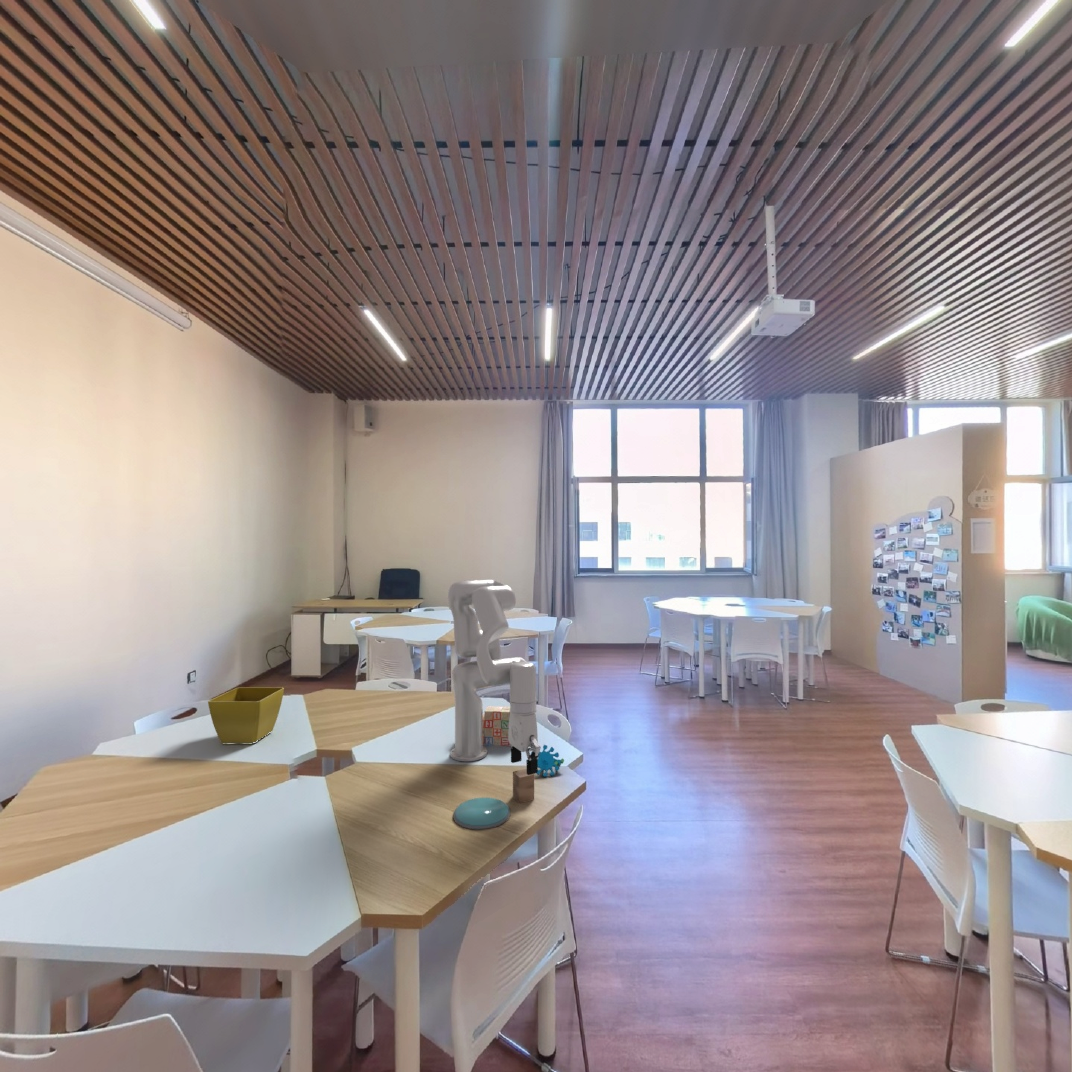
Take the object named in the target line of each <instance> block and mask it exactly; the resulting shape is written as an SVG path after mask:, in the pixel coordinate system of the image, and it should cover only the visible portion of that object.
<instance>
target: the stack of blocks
mask: <svg viewBox="0 0 1072 1072" xmlns="http://www.w3.org/2000/svg"><path fill="white" fill-rule="evenodd" d="M509 715H510V706H493V705H492V706H489V705H488V706H486V707H485V709H484V713H483V746H503V747H504V746H507V747H510V743H509V741H508V729H509Z"/></svg>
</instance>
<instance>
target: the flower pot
mask: <svg viewBox="0 0 1072 1072" xmlns="http://www.w3.org/2000/svg"><path fill="white" fill-rule="evenodd" d="M284 690H285V688H284V687H278V686H277V687H270V686H269V687H266V686H264V687H263V686H262V687H261V686H257V687H256V686H253V687H252V686H249V687H247V686H246V687H245V686H244V687H243V686H241V687H239V686H238V687H236V688H234V689H231V690H229V691H227V692H224V693H222V694H220V695H218V696H216V697H214V698H212V699H210V700H207V703H208V709H209V714H210V717H211V718H210V719H211V721H212V724H213V727H214V729H215V732H216V735H217V737H218V739H219V741H220V743H221V744H222V743H253V742H256V741H257V740H259V739H261V738H262V737H264V736H265V735H267V734H268V733H269V732H271V731H272V732H273V731H274V728H275V726H276V724H277V719H278V717H279V713H280V709H281V707H282V702H283V697H284V692H285V691H284ZM267 736H268V735H267ZM264 738H265V737H264Z"/></svg>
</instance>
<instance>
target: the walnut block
mask: <svg viewBox="0 0 1072 1072" xmlns="http://www.w3.org/2000/svg"><path fill="white" fill-rule="evenodd" d="M512 797H513V798H514V799H515V800H516V801H517V802H518V803H520V804H522V803H526V802H529V801H533V800H535V774H531V775H527V768H523V769H519V770H513V771H512Z"/></svg>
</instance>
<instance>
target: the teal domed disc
mask: <svg viewBox="0 0 1072 1072" xmlns="http://www.w3.org/2000/svg"><path fill="white" fill-rule="evenodd" d="M510 816H511V809H510V806H508V804H506V802H504V800H503V801H502V800H501V799H497V798H493V797H475V798H471V799H468V800H465V801H464V802H462V803H460V804H459V805H458V806H456V808H455V809H454V810H453V820H454V822H455V823H456V824H457V825H458V826H460V827H462V828H465V829H468V830H475V831H476V830H482V831H483V830H490V829H494V828H497V827H499V826H501V825H503V824H504V823H506V822H507V821H508V820H509V818H510Z"/></svg>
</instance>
